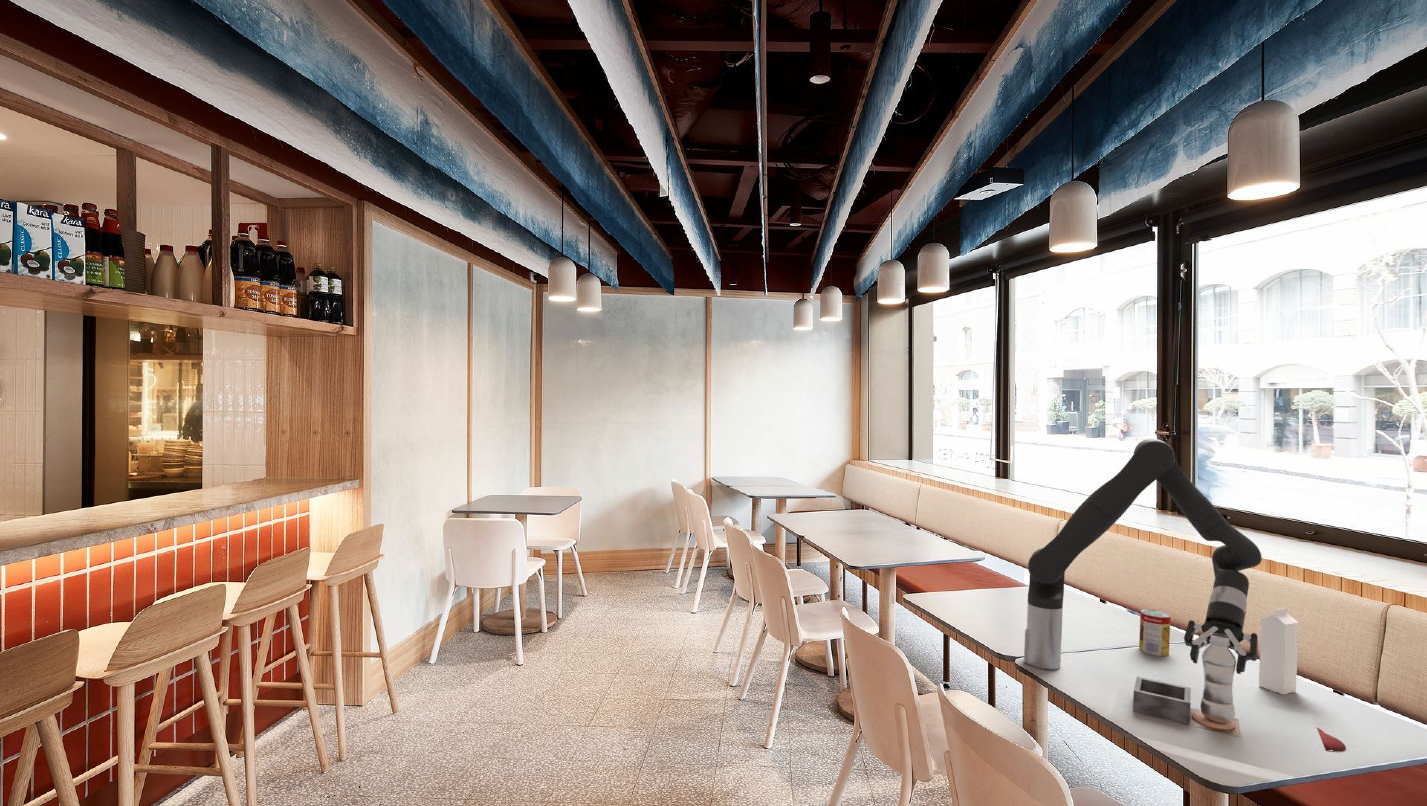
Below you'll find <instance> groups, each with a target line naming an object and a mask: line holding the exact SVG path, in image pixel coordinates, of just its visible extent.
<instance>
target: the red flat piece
mask: <svg viewBox="0 0 1427 806" xmlns="http://www.w3.org/2000/svg"><path fill="white" fill-rule="evenodd" d="M1316 729H1317V733H1318V735H1319V737H1320V740H1321V741H1322V745H1323V748H1324V750H1325V751H1327V750H1333V751H1332V752H1334V751H1341V752H1344V751H1346V750H1347V748H1346V745H1345V744H1344V742H1342V740H1340V739H1338V738H1336V737H1334V736H1332V735H1330V734H1328V733H1326V732H1325V731H1324V730H1322V729H1320V728H1319V727H1316ZM1345 749H1346V750H1345ZM1343 750H1344V751H1343Z"/></svg>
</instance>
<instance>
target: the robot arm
mask: <svg viewBox="0 0 1427 806" xmlns="http://www.w3.org/2000/svg"><path fill="white" fill-rule="evenodd" d="M1155 481H1157V482H1158V483H1159V484H1160V486H1161V487H1163V489H1165V491H1166V492H1167V493H1168V495H1169V496H1170V497H1171V499H1172V500H1173V501H1174V503H1175V505H1177V507H1178V508H1179V510H1180V511H1181V513H1182V514H1183V515H1184V517H1185V518H1186V519H1187V520H1188V522H1189V523H1190V524H1191V526H1192V527H1193V528H1194V529H1195V530H1196V532H1197V533H1198V534H1199V535H1200V536H1201V538H1203V539H1204V540H1205V541H1206V542H1207V541H1208V542H1220V543H1222V544H1223V545H1220V546H1218V547H1216V548H1215V550H1214V551H1213V553H1212V555H1211V560H1212V561H1211V562H1212V563H1211V564H1212V567H1213V574H1214V582H1213V587H1212V591H1211V594H1210V596H1209V600H1208V606H1207V609H1206V610H1207V611H1206V616H1205V619H1204V623H1203V624H1199V623H1196V622H1195V621H1194V620H1191V619H1190V620H1188V624H1187V627H1186V630H1185V634H1184V636H1183V639H1184V640H1183V641H1184V644H1185V646H1186V647H1190V653H1189V656H1190V660H1191V661H1192V663H1193V664H1196V665H1197V664H1198V661H1199V655H1200V649H1202V648H1205V647H1206V648H1207V647H1208V646H1209V645H1211V643H1210V635H1211V634H1213V633H1215V634H1222V635H1226V636H1228V637H1230V646H1228V648H1229V649H1230V648H1231V649H1232V650H1233V651H1234V653H1235V654H1236V655H1237V659H1236V666H1235V672H1236V674H1238V675H1241V674H1242V673H1244V672H1245V671H1246V665H1247V661H1252V662H1256V661H1258V652H1259V651H1258V648H1259V637H1258V634H1257V633H1255V632H1252V633H1251V634H1249V633H1244V625H1245V618H1246V615H1247V606H1248V604H1247V603H1248V593H1249V586H1250V583H1249V582H1250V580H1249V578H1248V576H1247V575H1245V574H1244V572H1243V573H1242V572H1240V571H1244V570H1246V569H1247V570H1249V569H1252V568H1254V567H1258V566H1259V565H1260V564H1261V562H1262V552H1261V551H1260V548H1259V547H1258V546H1257V544H1256V543H1255V542H1254V541H1252V540H1251V539H1250V538H1249V537H1248V536H1246V535H1244V534H1243V533H1242V532H1241V531H1239V530H1238V529H1236V527H1234V526H1232V525H1231V524H1230V523H1229V522H1228V521H1227V520H1226V519H1225V517H1224V516H1223V515H1222V514H1221V513H1220V512H1219V511H1218V509H1217V508H1216V507H1215V506H1214V505H1213V503H1212V502H1211V501H1210V500H1209V499H1208V498H1207V497H1206V496H1205V495H1204V494H1203V493H1202V492H1201V491H1200V490H1199V489H1198V488H1197V487H1196V486H1195V484H1194V483H1193V482H1192V481H1191V480H1190V479H1189V478H1188V476H1187V475H1186V474H1185V473H1184V471H1183V469H1182V468H1181V466H1180V465H1179V462H1177V459H1176V455H1175V451H1174V449H1173V448H1172V446H1171V445H1169V444H1168V443H1166V442H1165V441H1164V440H1162V439H1158V438H1147V439H1144V440H1141V441H1140V442H1139V443H1138V444H1137V445H1136V446H1135V447H1134V451H1133V455H1132V456H1131V457H1130V459H1129V460H1128V461H1127V463H1126V464H1125V465H1124V466H1123V467H1122V469H1121V470H1120V471H1119V472H1118V473H1117V474H1116V475H1114V477H1111V479H1109V480H1108V481H1106V482H1105V483H1104V484H1102V485H1101V486H1100V487H1098V488H1097V489H1096V490H1095V491H1093V492H1092V493H1091V494H1090V495H1089V496H1088V497H1087V498H1086V499H1085V500H1084V501H1083V502H1082V503H1081V504H1080V505H1079V506H1078V507H1077V509H1076V510H1075V511H1074V512H1073V513H1072V514H1071V516H1070V517H1069V519H1068V520H1067V521H1066V522H1065V524H1064V525H1063V527H1062V528H1061V530H1060V532H1059V533H1058V534H1057V535H1056V536H1055V537H1054V538H1053V539H1052V540H1051V541H1049V542H1048V544H1045V546H1044V547H1042V548H1038V549H1037V550H1036V551H1034V552H1033V553H1032V554H1031V556H1030V558H1029V560H1028V563H1027V570H1028V573H1029V584H1028V591H1027V610H1026V612H1027V613H1026V614H1027V615H1026V628H1025V630H1024V650H1023V653H1024V654H1023V663H1024V664H1028V665H1030V666H1032V667H1035V668H1038V669H1042V670H1043V669H1044V670H1058V669H1060V668H1061V662H1062V658H1061V657H1062V639H1063V638H1062V635H1063V634H1062V633H1063V632H1062V631H1063V612H1064V609H1063V608H1064V607H1063V606H1064V605H1063V604H1064V595H1065V594H1064V593H1065V576H1066V575H1065V573H1066V571H1067V569H1068V568H1069V567H1070V565H1071V564H1072V563H1073V562H1074V560H1075V559H1076V558H1077V557H1078V556H1079V555H1080V554H1081V553H1082V552H1083V551H1084V550H1086V549H1087V548H1089V547H1090V546H1091V545H1092V544H1093V543H1095V542H1096V541H1098V539H1100V537H1102V536H1103V535H1104V534H1105V533H1106V532H1107V531H1108V530H1109V529H1110V528H1111V527H1112V526H1114V525H1115V523H1116V522H1117V521H1118V520H1119V519H1120V518H1121V517H1122V516H1123V515H1124V514H1125V513H1126V511H1127V510H1128V509H1129V508H1130V507H1131V505H1132V504H1133V503H1134V502H1135V500H1137V499H1138V497H1139V495H1140V494H1141V493H1142V492H1143V491H1144V490H1146V488H1147V489H1148V487H1149V486H1150V485H1151V484H1152V483H1154V482H1155ZM1199 631H1202V634H1200V635H1198V637H1197V638H1196V639H1194V635H1195V634H1197V633H1198V632H1199ZM1193 639H1194V640H1193ZM1244 640H1245V641H1246V643H1247V644H1248V645H1249V651H1245V650H1244V648H1243V647H1242V645H1241V642H1242V641H1244Z"/></svg>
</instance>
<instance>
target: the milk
mask: <svg viewBox="0 0 1427 806" xmlns="http://www.w3.org/2000/svg"><path fill="white" fill-rule="evenodd" d="M1287 611H1288V609H1287V607H1282V608H1274V609H1273V613H1272V614H1271V615H1267V616H1264V617H1261V619H1260V638H1259V639H1260V641H1259V643H1260V646H1259V666H1258V667H1259V668H1258V670H1259V671H1258V686H1259V685H1260V686H1261V687H1260V688H1262V687H1264V688H1263V689H1265V688H1266V689H1265V690H1268V689H1270V690H1269V691H1272V692H1275V693H1276V692H1278V693H1277V694H1279V693H1280V695H1284V696H1285V695H1288V693H1289V694H1292V693H1291V692H1293V693H1296V692H1297V676H1298V674H1297V673H1298V647H1299V645H1298V644H1299V626H1300V625H1299V621H1298V620H1297V619H1295V618H1294V617H1292V616H1291V615H1290V614H1288V612H1287Z"/></svg>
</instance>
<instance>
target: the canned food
mask: <svg viewBox="0 0 1427 806" xmlns="http://www.w3.org/2000/svg"><path fill="white" fill-rule="evenodd" d="M1139 615H1140V617H1139V642H1138V643H1139V644H1138V649H1139V651H1140V652H1142V653H1145V654H1148V655H1152V656H1156V657H1167V656H1169V655H1170V640H1171V639H1170V635H1171V634H1170V633H1171V614H1170V613H1167V612H1164V611H1162V610H1157V609H1156V610H1155V609H1149V608H1147V609H1140V613H1139Z"/></svg>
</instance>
